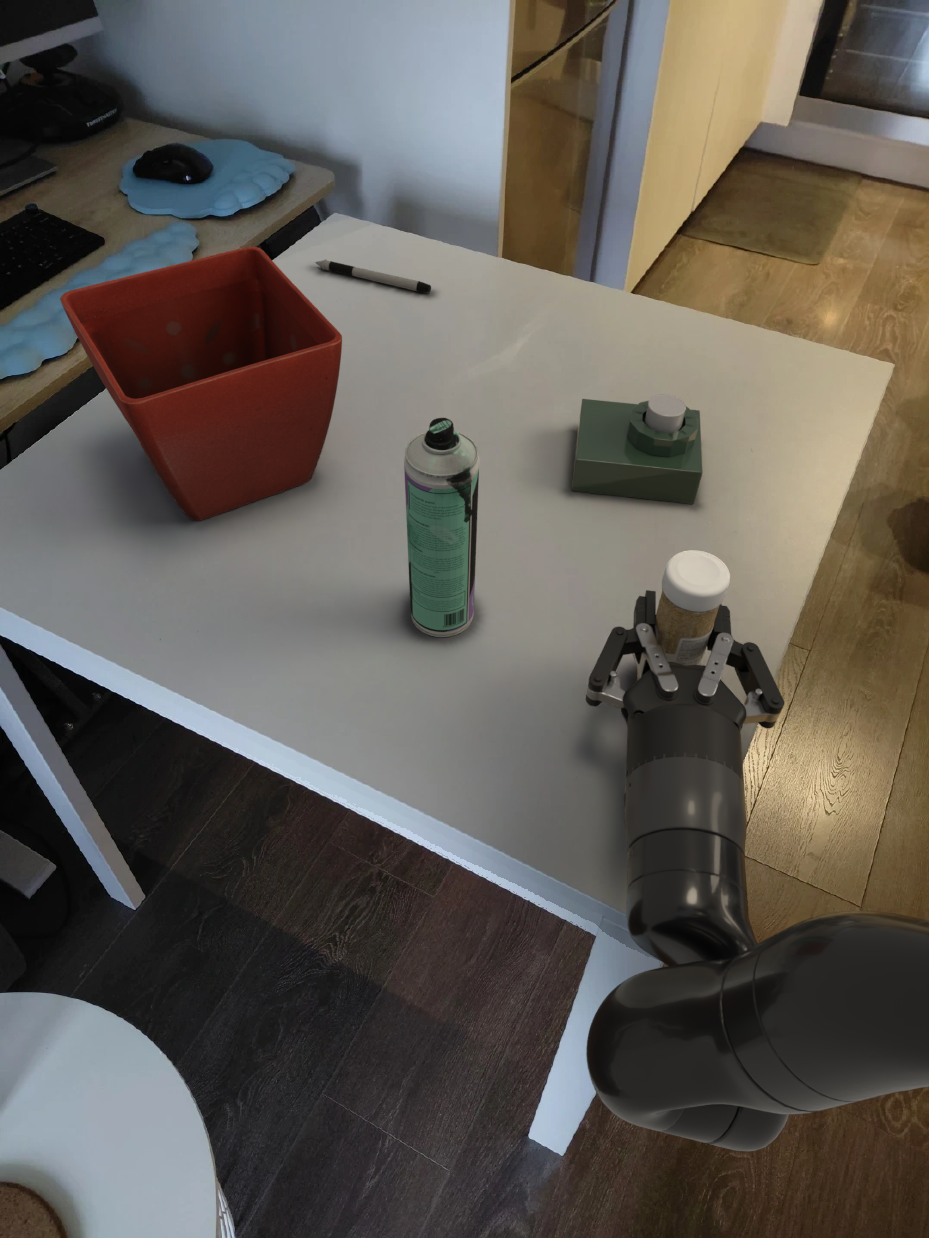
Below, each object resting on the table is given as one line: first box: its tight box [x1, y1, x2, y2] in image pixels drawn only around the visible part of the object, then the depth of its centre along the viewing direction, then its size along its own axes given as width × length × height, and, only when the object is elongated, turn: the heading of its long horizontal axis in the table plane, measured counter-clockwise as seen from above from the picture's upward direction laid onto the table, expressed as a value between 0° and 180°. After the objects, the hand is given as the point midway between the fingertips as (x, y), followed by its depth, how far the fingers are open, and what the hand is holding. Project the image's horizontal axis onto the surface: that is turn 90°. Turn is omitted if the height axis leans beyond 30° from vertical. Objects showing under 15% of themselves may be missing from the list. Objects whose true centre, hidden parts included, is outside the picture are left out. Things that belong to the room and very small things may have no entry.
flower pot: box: [59, 246, 343, 522], centre depth 84 cm, size 19×19×17 cm
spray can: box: [403, 417, 480, 638], centre depth 71 cm, size 6×6×20 cm
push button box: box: [571, 398, 704, 505], centre depth 90 cm, size 12×10×6 cm
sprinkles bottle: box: [636, 549, 731, 681], centre depth 68 cm, size 5×5×14 cm
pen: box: [314, 259, 432, 294], centre depth 115 cm, size 1×16×1 cm, turn 68°
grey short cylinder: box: [645, 393, 687, 433], centre depth 87 cm, size 4×4×2 cm
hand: (680, 602), depth 70 cm, fingers closed on sprinkles bottle, 4 cm apart
